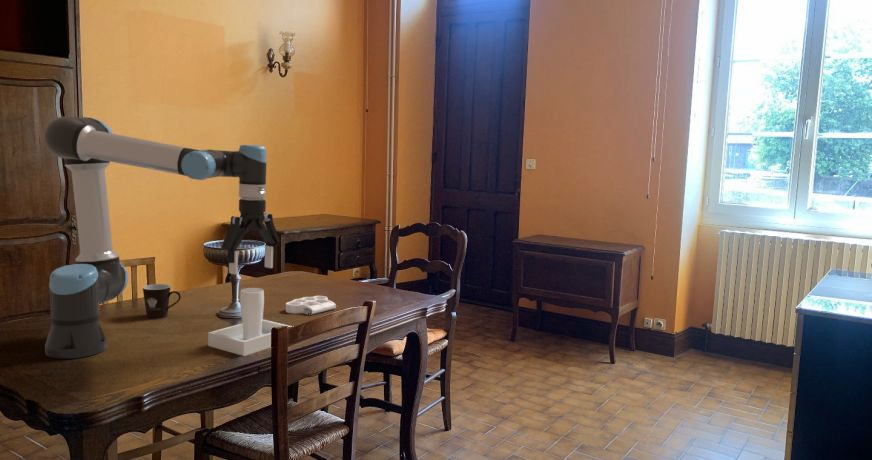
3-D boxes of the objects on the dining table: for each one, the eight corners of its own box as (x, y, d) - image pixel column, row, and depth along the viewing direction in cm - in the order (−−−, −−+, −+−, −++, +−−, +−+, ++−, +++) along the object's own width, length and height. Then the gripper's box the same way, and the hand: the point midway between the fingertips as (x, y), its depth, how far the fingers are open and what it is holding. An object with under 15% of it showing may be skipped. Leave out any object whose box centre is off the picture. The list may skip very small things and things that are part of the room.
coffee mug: (137, 316, 223) (136, 287, 222) (158, 311, 230) (158, 283, 229) (161, 322, 218) (161, 292, 216) (182, 316, 225) (182, 287, 224)
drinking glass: (268, 338, 200) (268, 289, 198) (251, 344, 195) (251, 293, 193) (253, 334, 204) (253, 286, 202) (235, 339, 198) (235, 290, 196)
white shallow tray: (244, 356, 187) (244, 342, 187) (208, 345, 195) (208, 332, 195) (294, 339, 204) (294, 326, 204) (259, 330, 212) (259, 318, 211)
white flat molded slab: (305, 318, 230) (277, 311, 238) (342, 309, 244) (314, 302, 253) (305, 309, 229) (277, 301, 238) (342, 300, 244) (314, 293, 252)
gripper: (227, 201, 181) (226, 278, 184) (292, 197, 202) (291, 266, 205) (208, 199, 185) (208, 274, 188) (274, 195, 206) (273, 263, 209)
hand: (251, 270), depth 197 cm, fingers open, 13 cm apart
